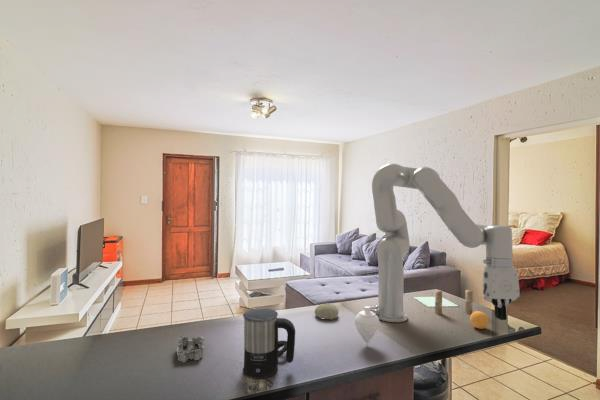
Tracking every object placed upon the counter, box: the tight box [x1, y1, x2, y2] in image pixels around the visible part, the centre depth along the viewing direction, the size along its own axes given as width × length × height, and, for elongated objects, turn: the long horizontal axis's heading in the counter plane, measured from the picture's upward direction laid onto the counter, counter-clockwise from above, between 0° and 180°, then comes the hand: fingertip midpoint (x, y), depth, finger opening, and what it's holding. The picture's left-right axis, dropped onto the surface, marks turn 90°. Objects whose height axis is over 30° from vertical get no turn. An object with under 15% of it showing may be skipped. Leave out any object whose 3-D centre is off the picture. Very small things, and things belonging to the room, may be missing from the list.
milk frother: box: [242, 308, 296, 380], centre depth 89 cm, size 14×16×15 cm
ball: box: [469, 310, 490, 330], centre depth 115 cm, size 6×6×6 cm
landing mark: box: [413, 296, 459, 308], centre depth 146 cm, size 14×14×1 cm
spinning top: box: [354, 305, 381, 346], centre depth 100 cm, size 8×8×12 cm
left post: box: [434, 289, 443, 315], centre depth 131 cm, size 3×3×9 cm
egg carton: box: [176, 334, 206, 363], centre depth 93 cm, size 11×8×4 cm
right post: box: [464, 289, 474, 315], centre depth 132 cm, size 3×3×9 cm
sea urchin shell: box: [314, 303, 339, 320], centre depth 125 cm, size 9×8×8 cm
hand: (500, 318), depth 106 cm, fingers closed
